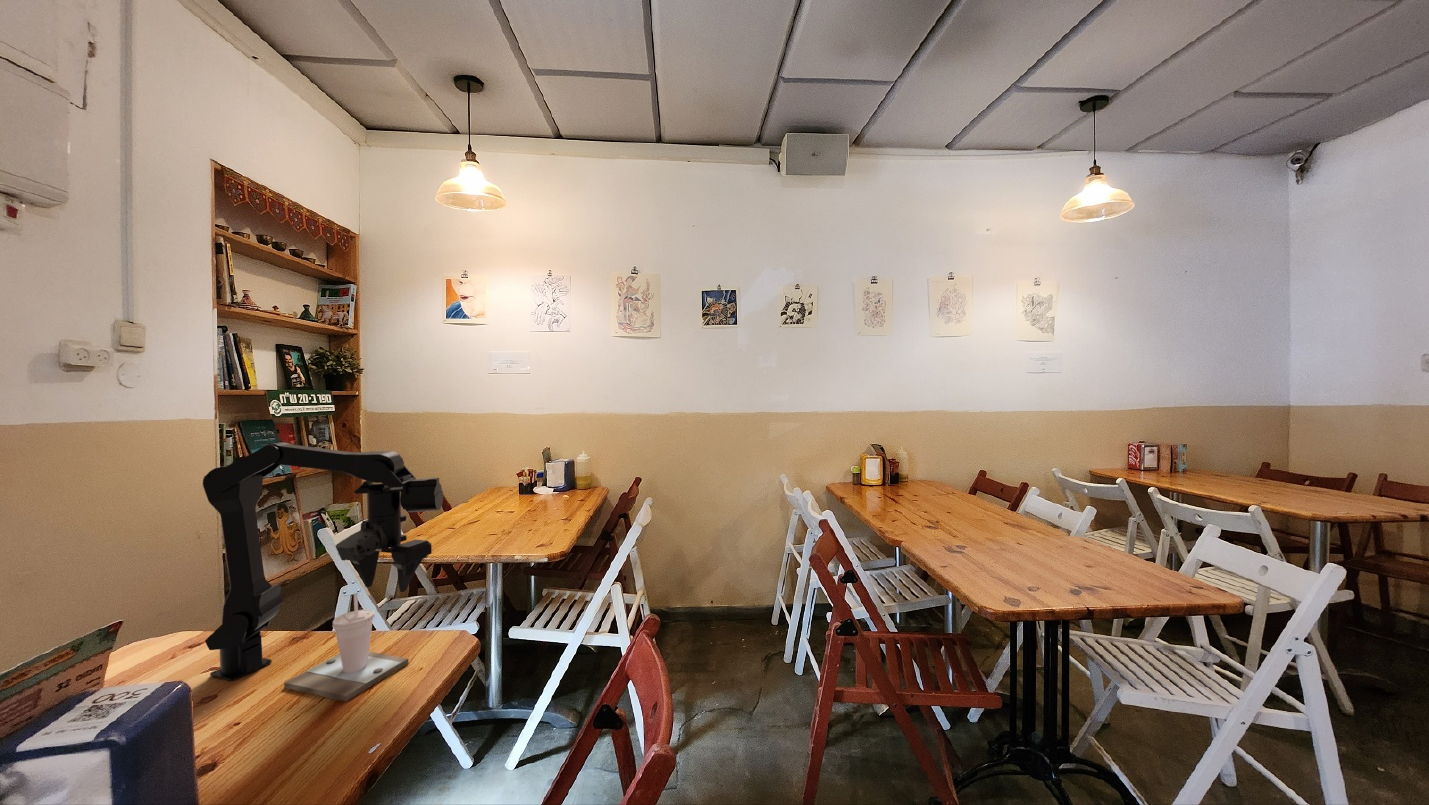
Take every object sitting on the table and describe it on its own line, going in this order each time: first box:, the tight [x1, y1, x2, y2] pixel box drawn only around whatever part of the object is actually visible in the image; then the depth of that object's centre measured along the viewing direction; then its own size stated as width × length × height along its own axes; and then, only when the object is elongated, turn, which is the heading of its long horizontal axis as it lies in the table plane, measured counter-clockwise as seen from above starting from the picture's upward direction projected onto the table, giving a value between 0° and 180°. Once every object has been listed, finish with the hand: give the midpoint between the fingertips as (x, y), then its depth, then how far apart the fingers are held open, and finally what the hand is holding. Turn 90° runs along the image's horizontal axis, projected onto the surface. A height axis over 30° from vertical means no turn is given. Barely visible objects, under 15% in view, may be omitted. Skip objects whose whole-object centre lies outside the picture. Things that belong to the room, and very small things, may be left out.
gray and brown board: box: [283, 651, 409, 702], centre depth 90 cm, size 15×12×1 cm
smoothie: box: [332, 593, 375, 673], centre depth 91 cm, size 6×6×14 cm
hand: (385, 589), depth 99 cm, fingers open, 9 cm apart
